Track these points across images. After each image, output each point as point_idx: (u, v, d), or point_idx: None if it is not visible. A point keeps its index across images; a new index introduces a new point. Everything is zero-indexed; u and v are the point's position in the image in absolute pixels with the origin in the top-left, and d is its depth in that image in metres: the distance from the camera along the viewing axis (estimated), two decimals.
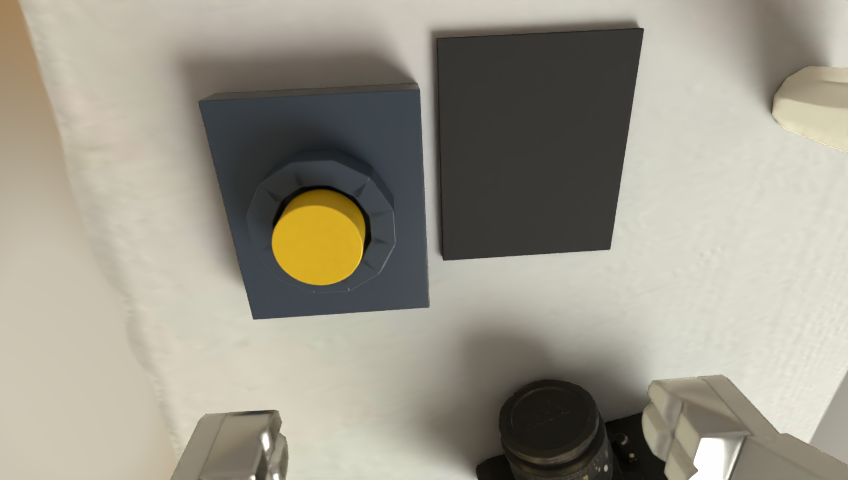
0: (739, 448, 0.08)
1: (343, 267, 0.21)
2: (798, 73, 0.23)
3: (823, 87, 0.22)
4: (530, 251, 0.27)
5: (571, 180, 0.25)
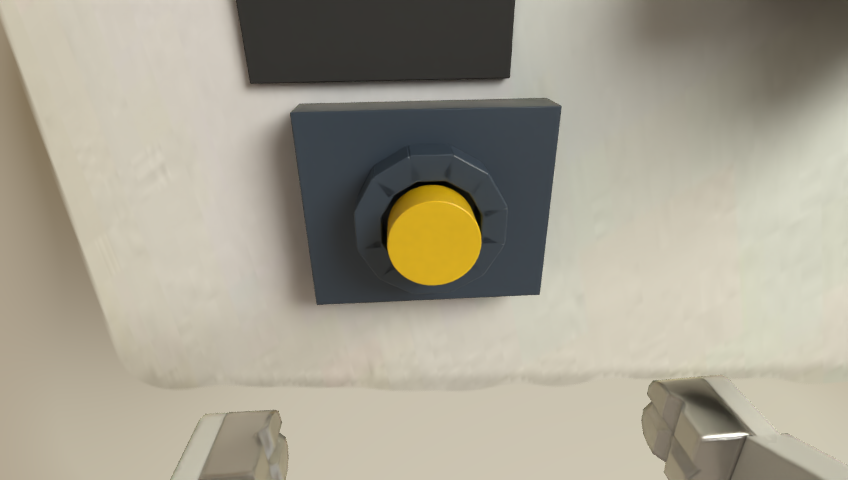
0: (739, 448, 0.08)
1: (461, 222, 0.19)
2: None
3: None
4: None
5: None
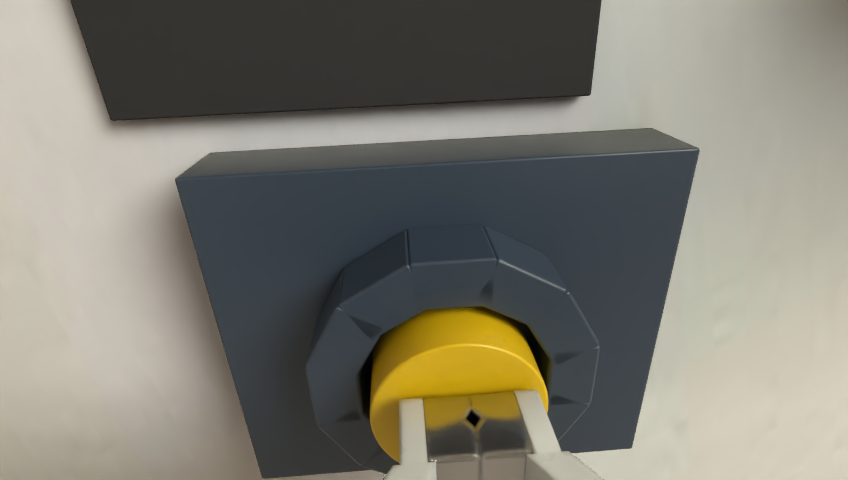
0: (522, 466, 0.08)
1: (511, 378, 0.10)
2: None
3: None
4: None
5: None
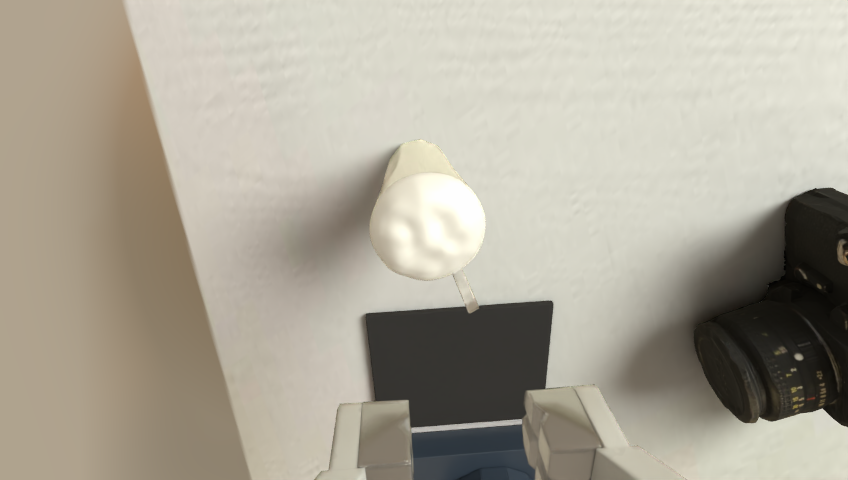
0: (590, 460, 0.08)
1: None
2: None
3: None
4: (544, 362, 0.31)
5: (483, 343, 0.30)
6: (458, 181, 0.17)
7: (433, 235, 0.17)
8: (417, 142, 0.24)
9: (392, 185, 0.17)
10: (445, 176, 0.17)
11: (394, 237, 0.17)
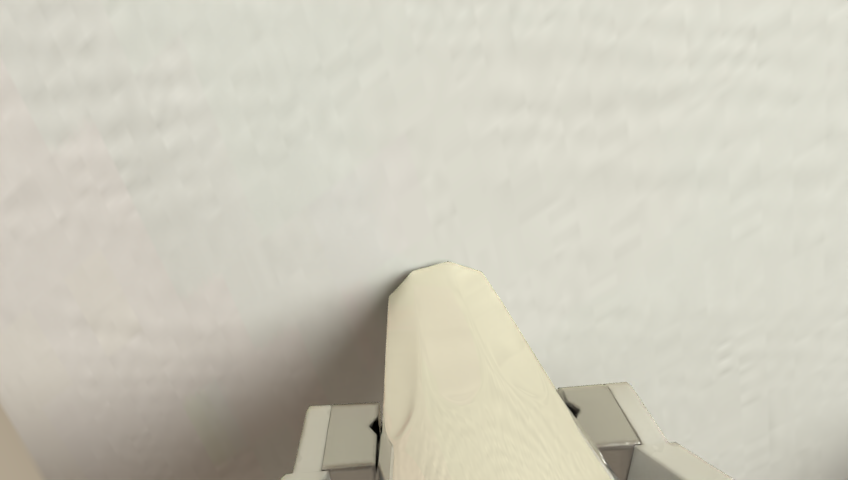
0: (628, 457, 0.08)
1: None
2: None
3: None
4: None
5: None
6: None
7: None
8: (445, 276, 0.12)
9: None
10: None
11: None
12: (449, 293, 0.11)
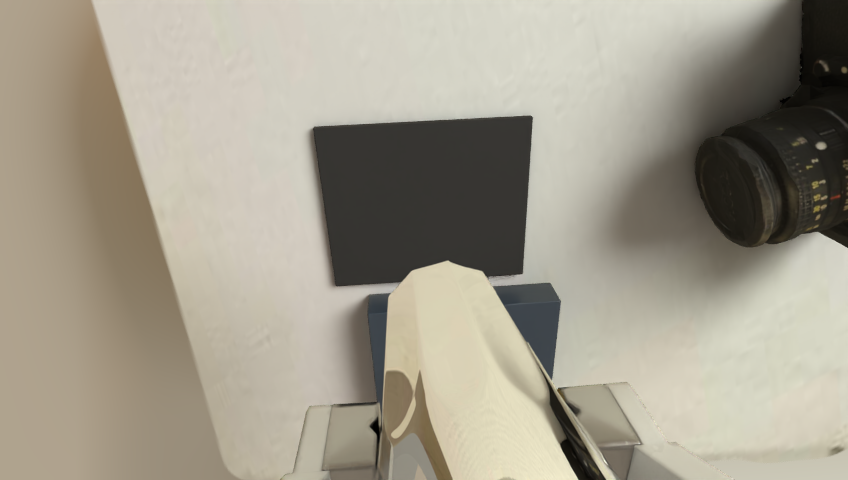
0: (628, 457, 0.08)
1: None
2: None
3: None
4: (523, 199, 0.27)
5: (452, 170, 0.26)
6: None
7: None
8: (445, 275, 0.12)
9: None
10: None
11: None
12: (449, 292, 0.11)
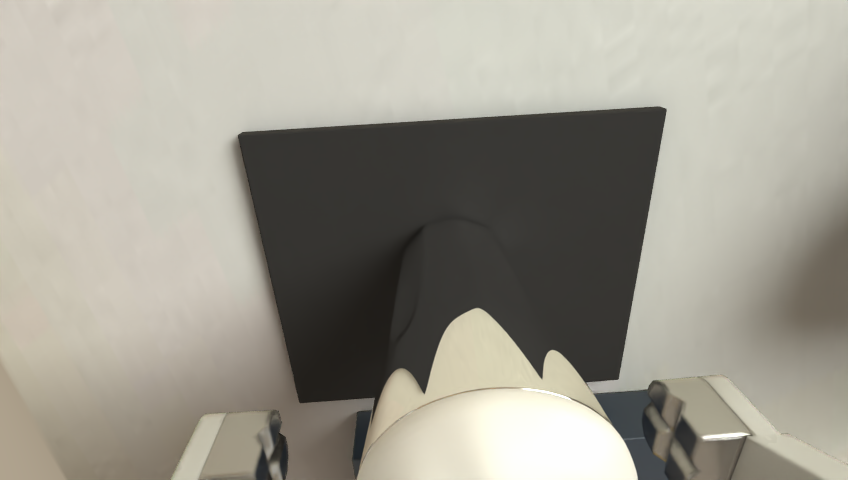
0: (739, 448, 0.08)
1: None
2: None
3: None
4: (633, 260, 0.15)
5: (505, 210, 0.14)
6: (584, 418, 0.06)
7: None
8: (453, 227, 0.13)
9: (409, 423, 0.07)
10: (550, 407, 0.06)
11: None
12: (454, 239, 0.12)
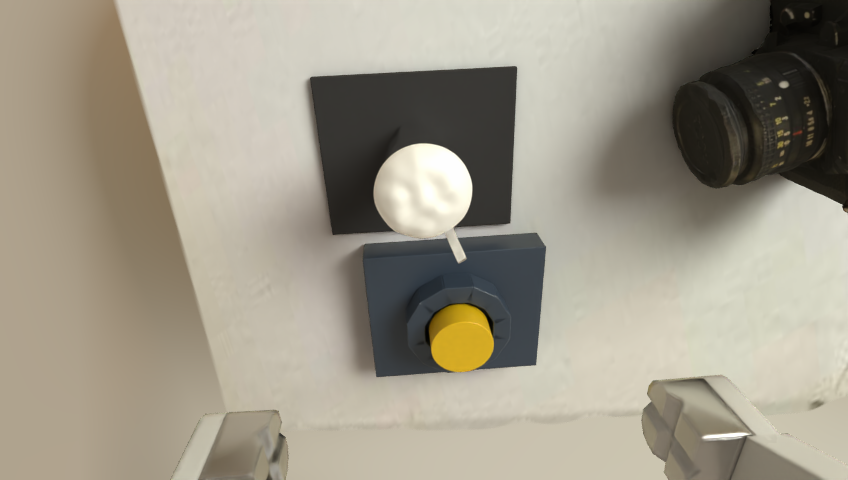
0: (739, 448, 0.08)
1: (480, 333, 0.28)
2: None
3: None
4: (510, 148, 0.29)
5: (441, 119, 0.28)
6: (448, 151, 0.20)
7: (427, 196, 0.20)
8: (414, 124, 0.27)
9: (393, 155, 0.20)
10: (437, 146, 0.20)
11: (395, 198, 0.20)
12: (414, 126, 0.26)
